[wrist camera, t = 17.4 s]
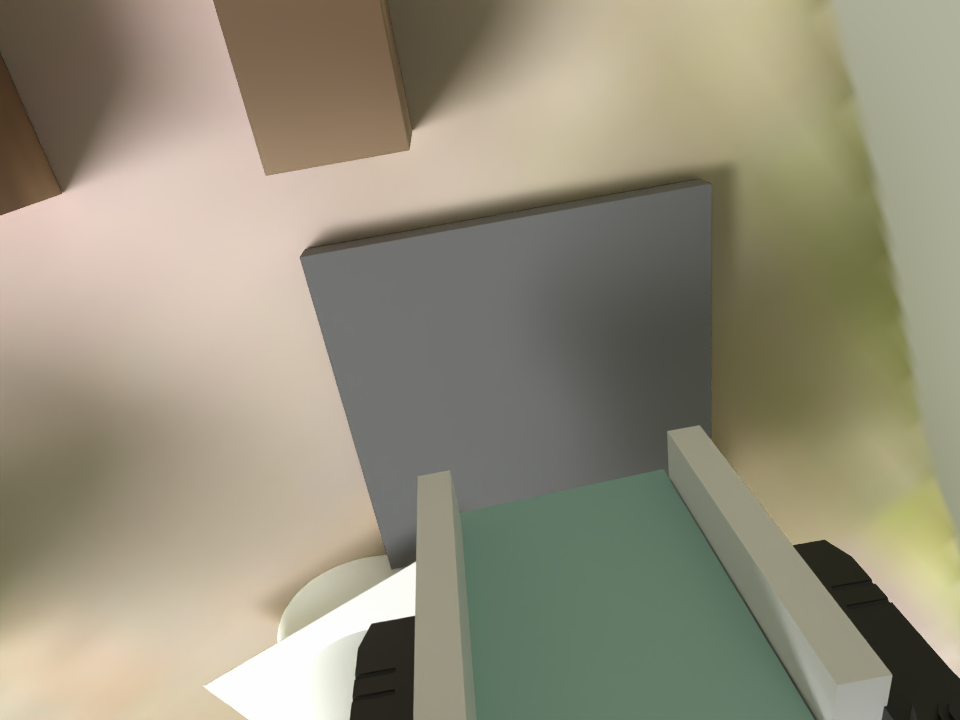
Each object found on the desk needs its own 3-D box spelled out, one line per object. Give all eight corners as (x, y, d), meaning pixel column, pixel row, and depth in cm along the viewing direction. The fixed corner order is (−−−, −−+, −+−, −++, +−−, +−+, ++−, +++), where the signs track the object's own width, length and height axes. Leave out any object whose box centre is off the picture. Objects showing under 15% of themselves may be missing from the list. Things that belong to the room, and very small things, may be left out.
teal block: (460, 512, 15) (481, 827, 9) (663, 469, 15) (835, 754, 9) (499, 656, 17) (539, 997, 11) (678, 619, 17) (827, 939, 11)
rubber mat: (305, 249, 17) (299, 257, 16) (699, 178, 17) (711, 183, 17) (392, 553, 22) (391, 569, 21) (701, 496, 22) (711, 511, 21)
